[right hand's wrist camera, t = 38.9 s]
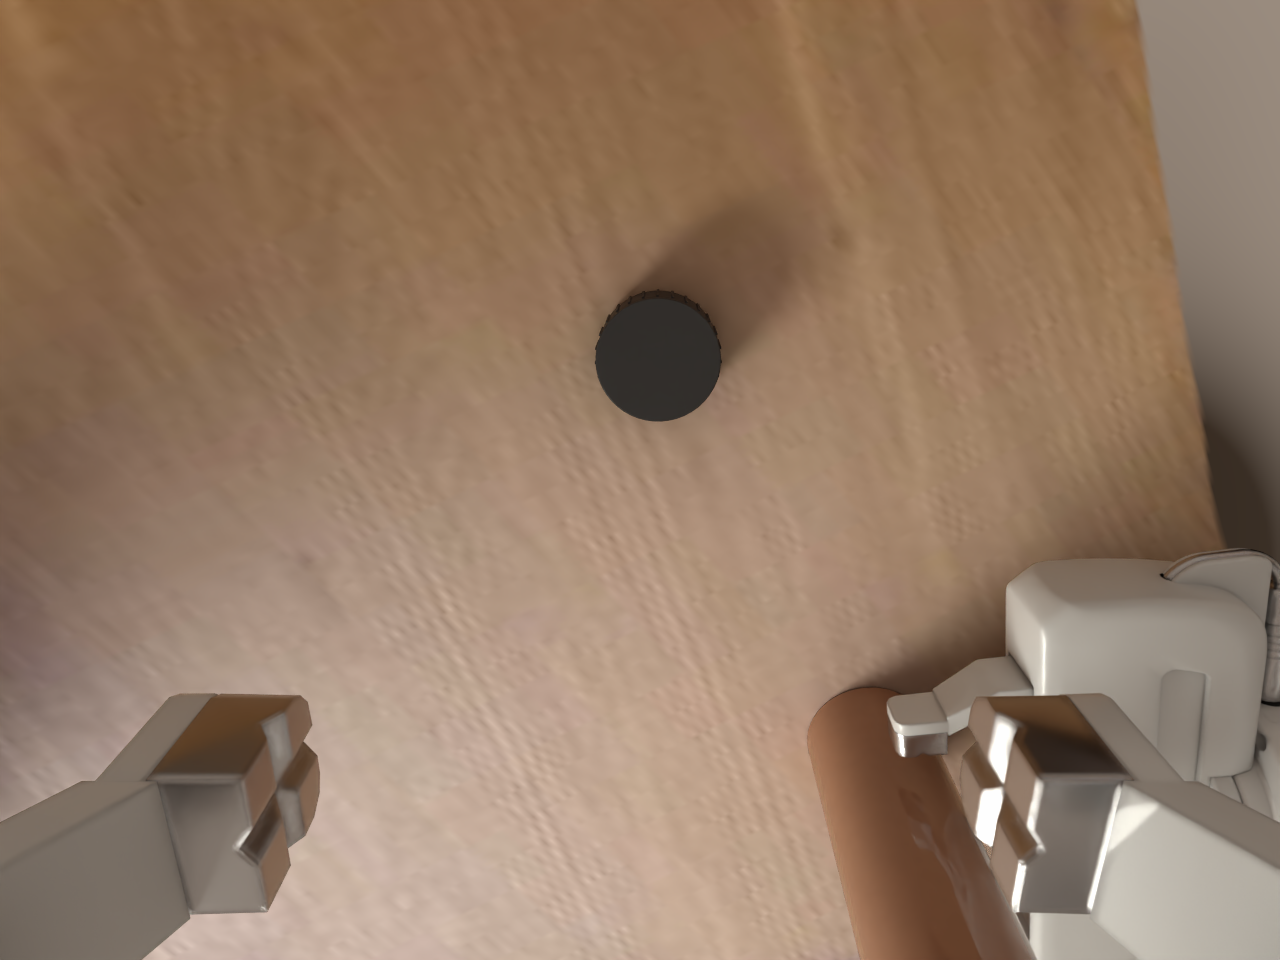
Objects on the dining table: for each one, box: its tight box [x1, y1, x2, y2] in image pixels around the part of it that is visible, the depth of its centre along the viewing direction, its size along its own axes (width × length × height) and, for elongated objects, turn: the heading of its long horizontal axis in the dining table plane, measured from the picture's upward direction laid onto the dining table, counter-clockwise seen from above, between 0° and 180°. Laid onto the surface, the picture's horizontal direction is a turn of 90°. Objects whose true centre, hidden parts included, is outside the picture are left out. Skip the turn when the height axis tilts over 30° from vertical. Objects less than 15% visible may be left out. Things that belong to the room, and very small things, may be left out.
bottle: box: [807, 687, 1037, 960], centre depth 28 cm, size 5×5×21 cm
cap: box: [595, 289, 722, 421], centre depth 31 cm, size 5×5×2 cm
